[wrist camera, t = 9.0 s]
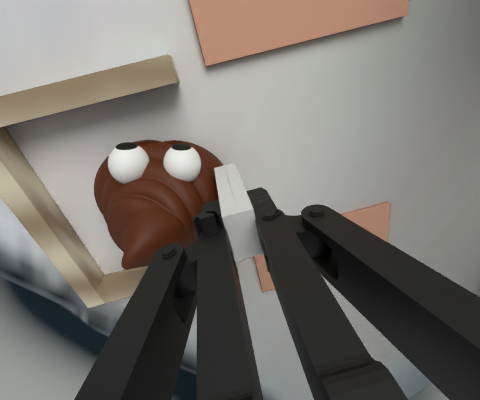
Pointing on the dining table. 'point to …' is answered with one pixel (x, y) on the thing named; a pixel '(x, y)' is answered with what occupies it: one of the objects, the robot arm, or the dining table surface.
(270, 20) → the pads
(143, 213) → the poop emoji
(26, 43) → the dining table surface
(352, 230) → the robot arm
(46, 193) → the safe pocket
